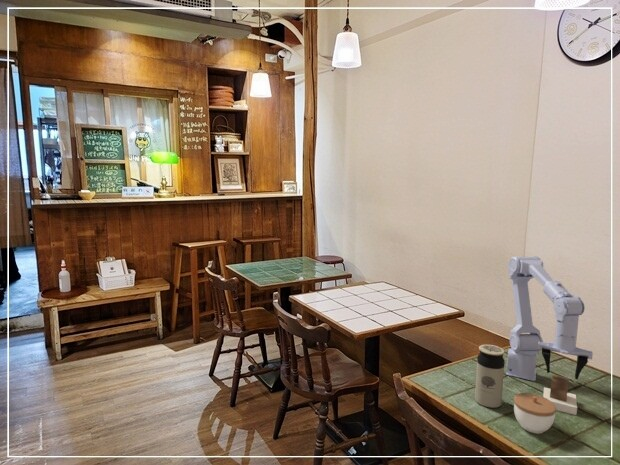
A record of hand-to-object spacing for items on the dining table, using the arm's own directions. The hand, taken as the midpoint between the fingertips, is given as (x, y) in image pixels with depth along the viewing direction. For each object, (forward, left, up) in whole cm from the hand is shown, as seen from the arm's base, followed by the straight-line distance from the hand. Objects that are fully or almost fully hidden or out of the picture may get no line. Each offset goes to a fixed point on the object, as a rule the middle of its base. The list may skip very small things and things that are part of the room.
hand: (562, 374), depth 130 cm
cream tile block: (0, 0, -10) cm, 11 cm away
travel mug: (-20, -11, -10) cm, 25 cm away
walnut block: (0, 0, -7) cm, 7 cm away
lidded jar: (-7, -19, -10) cm, 23 cm away
